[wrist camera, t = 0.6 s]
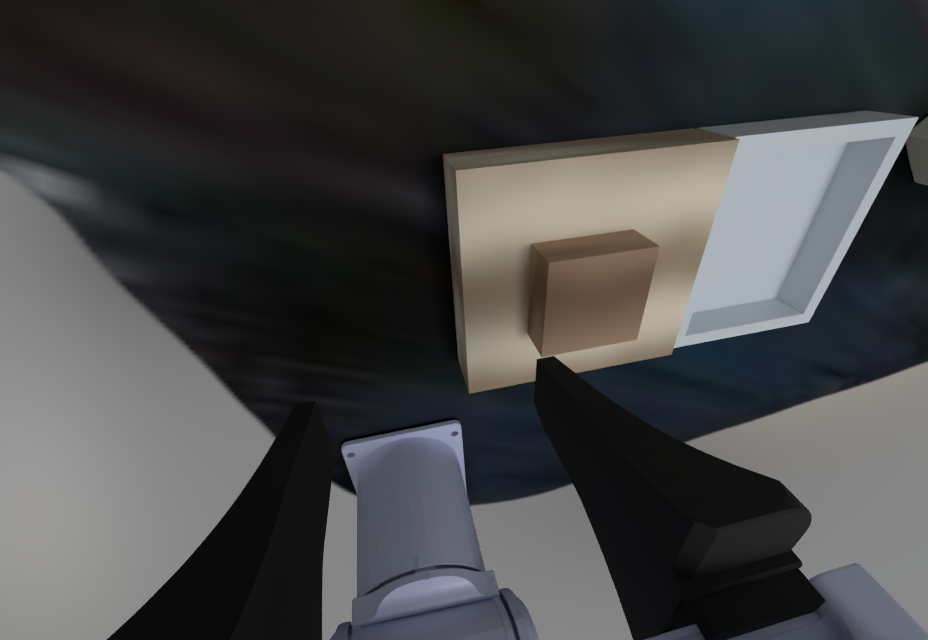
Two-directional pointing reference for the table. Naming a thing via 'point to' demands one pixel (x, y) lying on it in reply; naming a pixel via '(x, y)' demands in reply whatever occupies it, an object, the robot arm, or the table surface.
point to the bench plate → (569, 216)
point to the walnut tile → (589, 290)
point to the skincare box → (919, 151)
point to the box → (787, 218)
